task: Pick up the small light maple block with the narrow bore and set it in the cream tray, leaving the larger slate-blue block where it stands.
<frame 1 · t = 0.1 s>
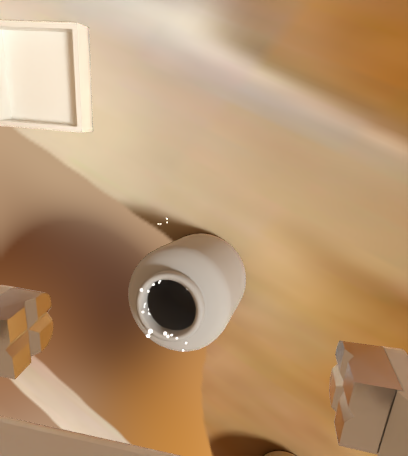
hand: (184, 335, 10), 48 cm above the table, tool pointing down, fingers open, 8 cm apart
cream tray: (47, 79, 57), on the table
jar: (200, 258, 62), on the table
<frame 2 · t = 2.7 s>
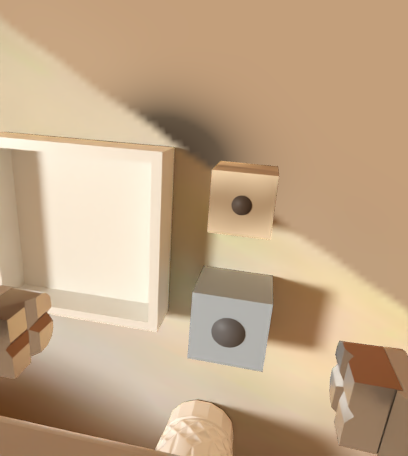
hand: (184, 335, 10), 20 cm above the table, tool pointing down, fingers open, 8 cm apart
white cup: (201, 423, 37), on the table
maple block: (245, 191, 29), on the table
cream tray: (90, 225, 32), on the table
slate block: (234, 300, 32), on the table
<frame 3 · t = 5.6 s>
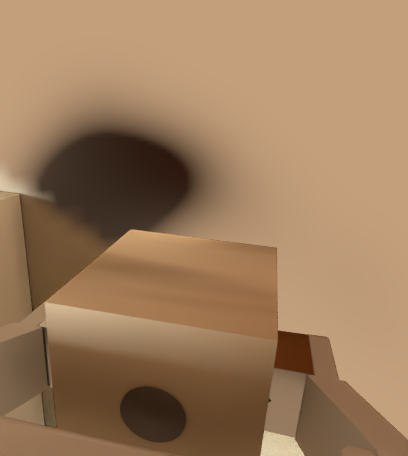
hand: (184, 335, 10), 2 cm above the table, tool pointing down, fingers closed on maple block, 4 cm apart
maple block: (197, 303, 12), on the table, touching gripper
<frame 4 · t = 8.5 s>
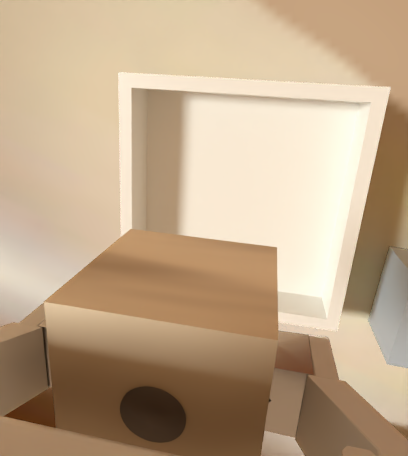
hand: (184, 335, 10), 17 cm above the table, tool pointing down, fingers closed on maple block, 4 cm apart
maple block: (197, 302, 12), point 15 cm above the table, touching gripper
cream tray: (239, 196, 26), on the table
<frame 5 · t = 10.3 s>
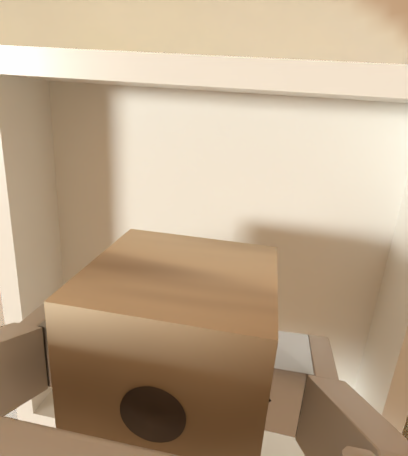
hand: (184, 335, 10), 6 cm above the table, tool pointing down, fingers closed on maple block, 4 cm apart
maple block: (197, 302, 12), point 4 cm above the table, touching gripper
cream tray: (211, 258, 15), on the table
when the fingers open (4 cm above the table, at t = 11.5 s): maple block drops 2 cm, resting on cream tray.
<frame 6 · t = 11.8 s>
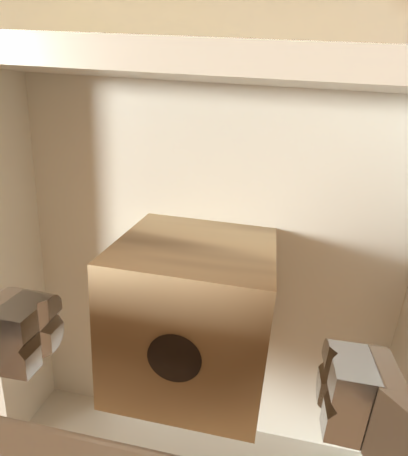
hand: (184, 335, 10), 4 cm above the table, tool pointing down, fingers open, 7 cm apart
maple block: (206, 278, 13), point 1 cm above the table, touching cream tray
cream tray: (210, 271, 14), on the table
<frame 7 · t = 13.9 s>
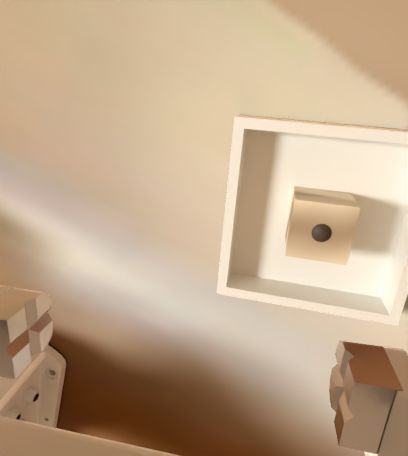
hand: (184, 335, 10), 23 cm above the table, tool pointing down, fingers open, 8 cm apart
maple block: (316, 214, 30), point 1 cm above the table, touching cream tray
cream tray: (316, 213, 31), on the table
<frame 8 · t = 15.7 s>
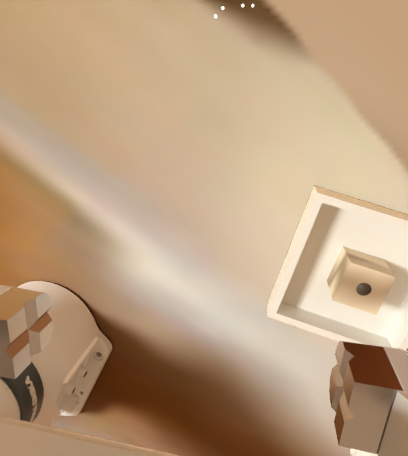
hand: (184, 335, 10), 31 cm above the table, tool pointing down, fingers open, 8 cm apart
maple block: (354, 270, 40), point 1 cm above the table, touching cream tray
cream tray: (353, 268, 40), on the table
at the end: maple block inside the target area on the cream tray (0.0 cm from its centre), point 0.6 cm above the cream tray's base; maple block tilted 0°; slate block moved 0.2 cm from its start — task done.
